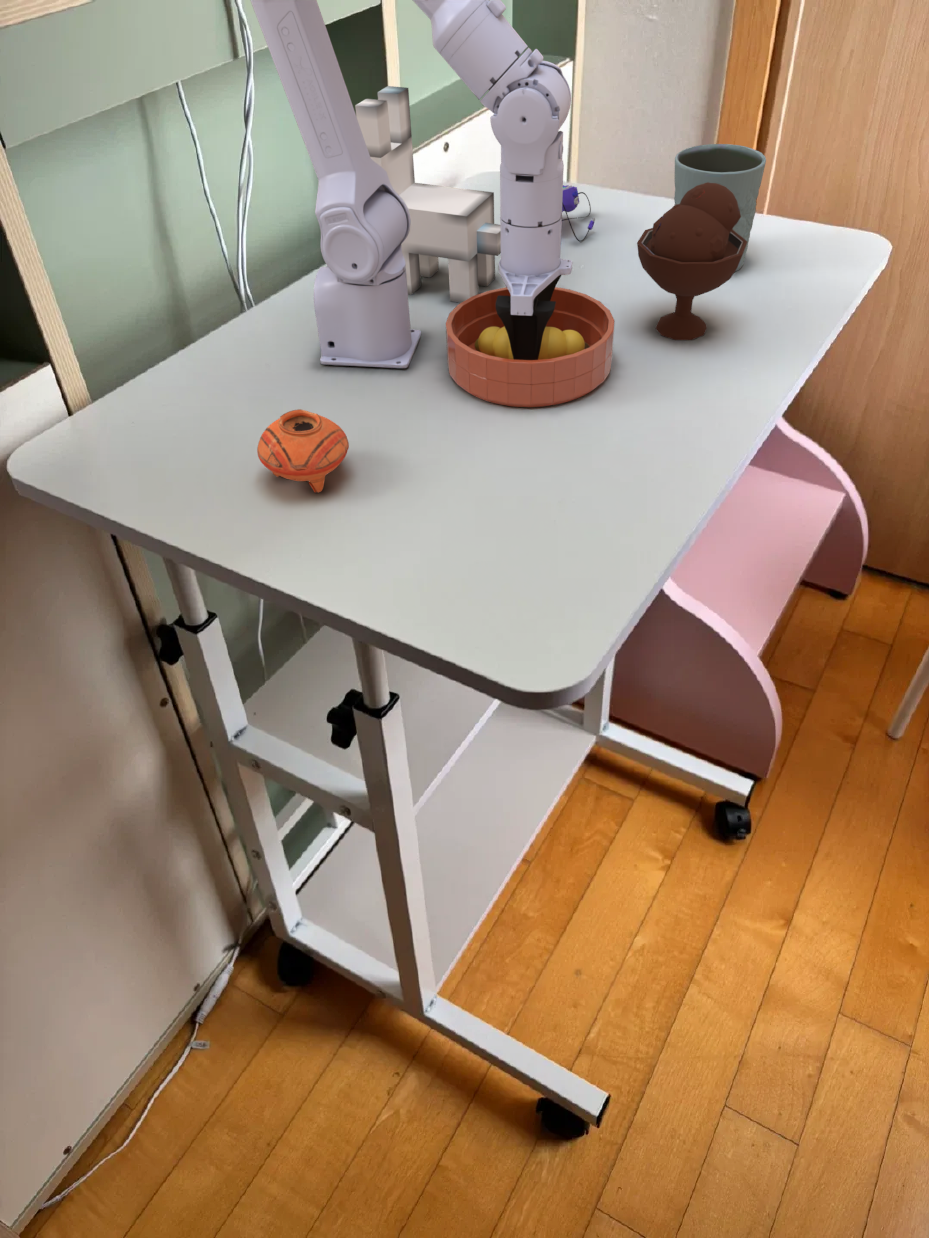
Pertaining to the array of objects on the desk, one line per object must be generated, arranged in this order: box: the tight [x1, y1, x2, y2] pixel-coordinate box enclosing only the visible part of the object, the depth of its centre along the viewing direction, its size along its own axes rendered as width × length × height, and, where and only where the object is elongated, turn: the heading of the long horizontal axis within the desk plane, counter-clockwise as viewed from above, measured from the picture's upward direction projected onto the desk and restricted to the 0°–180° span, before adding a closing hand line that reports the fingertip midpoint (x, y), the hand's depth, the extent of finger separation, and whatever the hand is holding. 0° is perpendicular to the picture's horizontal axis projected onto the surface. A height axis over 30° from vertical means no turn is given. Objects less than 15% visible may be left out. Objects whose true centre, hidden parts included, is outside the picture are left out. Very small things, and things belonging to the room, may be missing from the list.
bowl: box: [445, 286, 615, 408], centre depth 98 cm, size 17×17×5 cm
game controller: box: [562, 184, 596, 242], centre depth 124 cm, size 10×8×10 cm
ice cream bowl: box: [636, 182, 747, 341], centre depth 99 cm, size 11×11×15 cm
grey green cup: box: [673, 143, 767, 273], centre depth 113 cm, size 10×10×12 cm
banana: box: [475, 326, 590, 360], centre depth 98 cm, size 12×4×4 cm, turn 81°
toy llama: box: [354, 85, 501, 304], centre depth 108 cm, size 8×18×20 cm, turn 66°
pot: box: [256, 408, 350, 494], centre depth 84 cm, size 8×8×7 cm
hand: (529, 350), depth 98 cm, fingers open, 5 cm apart
